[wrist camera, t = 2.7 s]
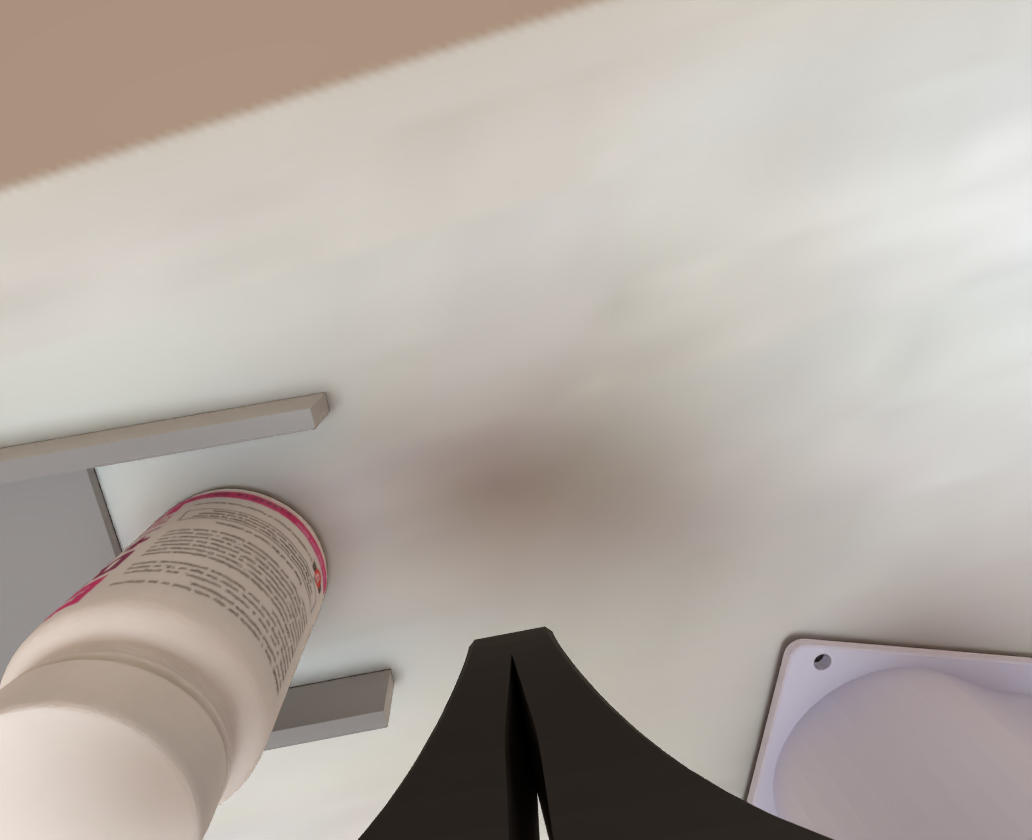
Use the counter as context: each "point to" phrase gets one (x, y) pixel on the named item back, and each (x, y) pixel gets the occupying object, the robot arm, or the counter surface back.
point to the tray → (93, 545)
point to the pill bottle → (160, 675)
